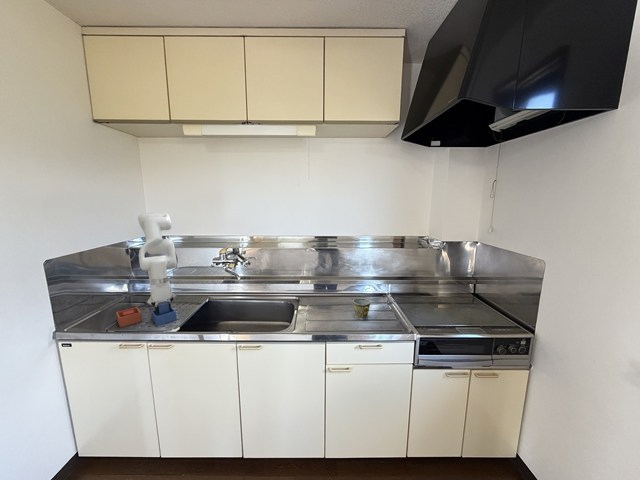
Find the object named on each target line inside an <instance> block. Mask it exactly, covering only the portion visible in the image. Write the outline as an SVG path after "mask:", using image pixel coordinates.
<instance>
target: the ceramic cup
mask: <svg viewBox="0 0 640 480" xmlns="http://www.w3.org/2000/svg"><path fill="white" fill-rule="evenodd" d="M352 304H353V311H354V317H355V318H356V319H357V320H360V321H364V320H366V319H367V318H368V314H369V312H370V306H371V300H370V299H367V298H364V297H358V298H354V299H353V300H352Z"/></svg>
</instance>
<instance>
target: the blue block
mask: <svg viewBox="0 0 640 480" xmlns="http://www.w3.org/2000/svg"><path fill="white" fill-rule="evenodd" d="M158 307H159V314H162V313H165V312H169V303H168V302H167V301H163V302H159V303H158Z"/></svg>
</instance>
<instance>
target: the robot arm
mask: <svg viewBox="0 0 640 480" xmlns="http://www.w3.org/2000/svg"><path fill="white" fill-rule="evenodd" d="M137 221H138V224H139V227H140V229H141V230H142V232H143V234H144V239H145V242H144V243H143V244H142V246H140V248H139V251H138V261H139V267H140V269H141V270H142V271H144V272H147V273H148V279H149V288H150V289H149V290H150V292H149V293H150V297H149V298H148V300H147V301H146V303H147V304H149V306H152V307H154V310H155V311H156V312H157V313H159V307H158V303H159V302H163V301H167V302H168V303H169V310H170V308H171V307H172V301H174V299H175V298H176V297H177V295H176V294H175V293H174V292H173V291H172V287H171V283H170V281H169V280H171V276H168V272H167V271H168V270H173V269H176V267H177V264H178V262H177V254H176V248H175V247H176V246H175V243H174V241H173V239H170V238H163V233H162V231H170V230H171V229H172V220H171V217H170V215H169V213H168V212H164V211H163V212H143V213H140V214H138V216H137ZM146 252H147V253H148V254H149V255H156V256H148V257H145V256H146V255H145V254H146ZM161 254H165V255H161Z"/></svg>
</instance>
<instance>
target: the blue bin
mask: <svg viewBox="0 0 640 480" xmlns="http://www.w3.org/2000/svg"><path fill="white" fill-rule="evenodd" d="M150 313H151V320H152V322H153V323H154V324H155V326H156V327H159V326H161V325H164V324H169V323H172V322H175V321H177V311H176V310H175V308H173V307H172V306H171V308H170V310H169V312H165V313H162V314H159V313H157V312H156V311H155V309H154V310H153V309H152V310H151V311H150Z"/></svg>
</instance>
